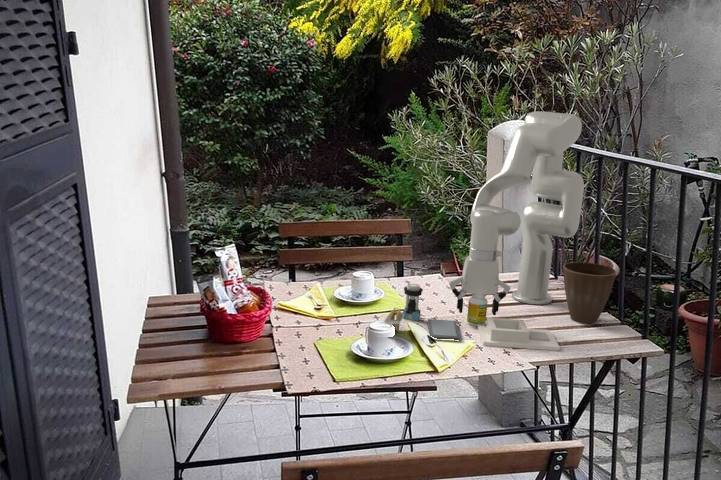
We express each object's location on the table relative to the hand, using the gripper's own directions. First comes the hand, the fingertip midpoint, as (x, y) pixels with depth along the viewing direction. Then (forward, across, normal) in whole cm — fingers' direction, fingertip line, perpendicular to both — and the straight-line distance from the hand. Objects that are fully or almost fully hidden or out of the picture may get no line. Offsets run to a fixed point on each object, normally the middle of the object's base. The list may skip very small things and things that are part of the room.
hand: (477, 312), depth 210 cm
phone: (+3, +10, +9) cm, 14 cm away
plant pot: (+3, -33, -10) cm, 35 cm away
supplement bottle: (+3, 0, 0) cm, 3 cm away
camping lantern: (+3, +18, 0) cm, 18 cm away
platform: (+4, +24, +13) cm, 27 cm away
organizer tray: (+3, -10, +11) cm, 15 cm away
